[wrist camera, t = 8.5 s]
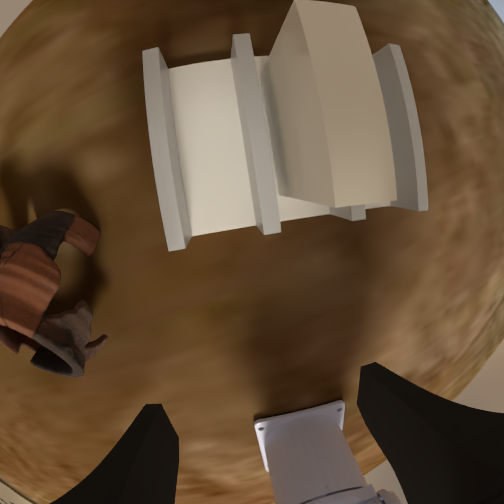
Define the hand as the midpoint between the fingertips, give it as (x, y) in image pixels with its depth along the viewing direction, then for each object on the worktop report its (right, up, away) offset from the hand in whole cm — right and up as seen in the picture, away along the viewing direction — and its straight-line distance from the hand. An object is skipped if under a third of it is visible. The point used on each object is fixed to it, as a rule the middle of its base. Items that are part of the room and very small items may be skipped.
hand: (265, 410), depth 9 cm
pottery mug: (-14, +4, +7) cm, 17 cm away
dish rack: (+1, +13, +7) cm, 14 cm away
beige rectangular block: (+2, +12, +6) cm, 14 cm away
